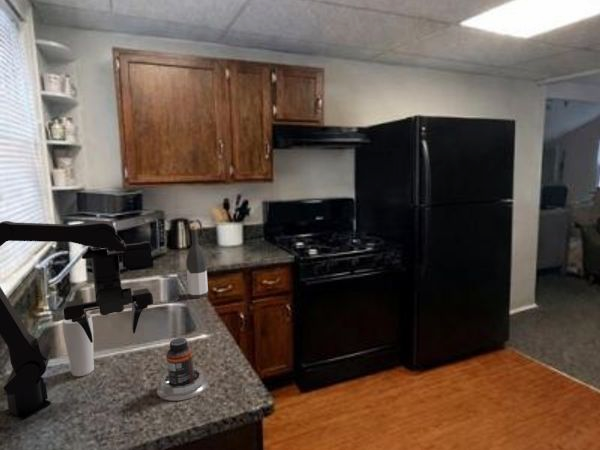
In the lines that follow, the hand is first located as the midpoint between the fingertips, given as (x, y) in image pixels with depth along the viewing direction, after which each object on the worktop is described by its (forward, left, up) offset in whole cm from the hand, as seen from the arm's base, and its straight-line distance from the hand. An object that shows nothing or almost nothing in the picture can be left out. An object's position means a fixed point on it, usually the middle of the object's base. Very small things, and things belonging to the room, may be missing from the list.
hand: (113, 337), depth 94 cm
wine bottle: (+65, +27, -13) cm, 72 cm away
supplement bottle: (+6, -15, -13) cm, 20 cm away
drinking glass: (+2, +15, -13) cm, 20 cm away
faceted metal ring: (+6, -15, -13) cm, 21 cm away
